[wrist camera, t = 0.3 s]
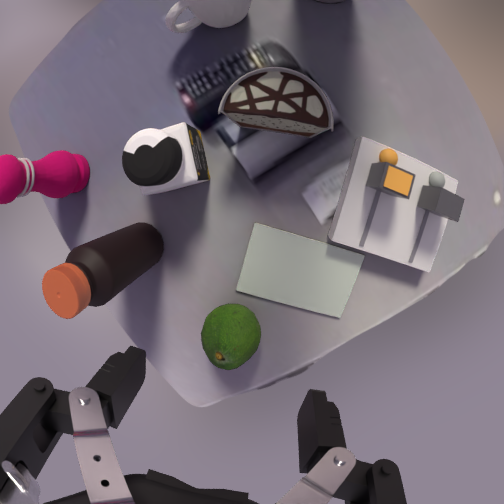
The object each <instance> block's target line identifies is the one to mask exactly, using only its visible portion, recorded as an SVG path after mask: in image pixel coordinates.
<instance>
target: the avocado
mask: <svg viewBox="0 0 504 504" xmlns="http://www.w3.org/2000/svg"><path fill="white" fill-rule="evenodd" d="M260 338H261V328H260V325H259V322H258V320H257V318H256V317H255V315H254V313H253V312H252V311H250V310H249V309H248V308H247V307H245V306H242V305H239V304H225V305H222V306H219V307H217V308H216V309H214V310H213V311H212V312H211V313H210V314H209V315H208V316H207V317H206V319H205V322H204V325H203V329H202V332H201V340H202V345H203V349H204V351H205V353H206V355H207V357H208V358H209V360H210V361H211V363H212V364H214V365H215V366H217V367H218V368H221V369H226V370H231V369H235V368H238V367H239V366H241V365H242V364H244V363H245V362H246V361H247V360H249V359H250V358H251V356H252V355H253V354H254V353H255V352H256V350H257V348H258V345H259V343H260Z"/></svg>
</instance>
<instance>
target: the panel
mask: <svg viewBox="0 0 504 504" xmlns="http://www.w3.org/2000/svg"><path fill="white" fill-rule="evenodd" d="M379 162H388V163H390V164H393V165H395V166H397V167H400V168H402V169H404V170H406V171H409V172H411V173H413V174H415V175H416V176H415V180H414V183H413V187H412V191H411V194H410V198H409V199H404V198H399V197H394V196H391V195H388V194H386V193H383V192H381V191H378V190H376V189H373V188H370V187H368V186H366V182H367V179H368V175H369V171H370V168H371V164H372V163H379ZM457 184H458V181H457V180H456V179H454V178H452V177H450V176H448V175H446V174H445V173H443V172H441V171H439V170H437V169H435V168H433V167H431V166H429V165H427V164H425V163H423V162H421V161H419V160H417V159H415V158H412V157H410V156H408V155H406V154H404V153H402V152H399V151H397V150H395V149H393V148H390V147H388V146H385V145H383V144H381V143H378V142H376V141H373V140H371V139H368V138H366V137H363V136H362V137H359V138H357V139H356V141H355V145H354V149H353V153H352V156H351V160H350V163H349V167H348V171H347V174H346V178H345V181H344V185H343V188H342V191H341V195H340V198H339V201H338V205H337V208H336V211H335V214H334V218H333V221H332V224H331V227H330V230H329V233H328V237H329V238H330V239H331V241H334V242H337V243H340V244H344V245H347V246H350V247H353V248H356V249H360V250H363V251H366V252H369V253H372V254H375V255H378V256H381V257H384V258H387V259H390V260H393V261H397V262H400V263H403V264H405V265H408V266H411V267H414V268H417V269H420V270H423V271H426V272H429V273H430V270H431V268H432V265H433V262H434V260H435V257H436V254H437V251H438V249H439V246H440V243H441V240H442V237H443V234H444V231H445V227H446V224H447V221H448V219H447V218H444V217H440V216H438V215H436V214H433V213H431V212H429V211H427V210H424V209H422V208H420V207H417V205H418V201H419V198H420V194H421V190H422V187H423V185H426V186H435V187H442V188H444V189H446V190H448V191H450V192H452V193H454V194H455V192H456V188H457Z"/></svg>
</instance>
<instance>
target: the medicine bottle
mask: <svg viewBox="0 0 504 504" xmlns="http://www.w3.org/2000/svg"><path fill="white" fill-rule="evenodd" d="M122 164H123V169H124V171H125V174H126V175H127V177H128V178H129V179H130V180H131V181H132V182H133V183H135V184H137V185H140V186H141V191H142V194H143V195H151V194H157V193H163V192H167V191H171V190H174V189H178V188H182V187H186V186H189V185H193V184H197V183H201V182H205V181H208V180H210V175H209V170H208V166H207V161H206V157H205V152H204V148H203V143H202V138H201V134H200V131H198V130H197V129H195V128H193V127H191V126H190V125H188V124H186V123H180V124H176V125H173V126H170V127H167V128H164V129H161V130H158V129H153V128H149V129H144V130H141V131H139V132H137V133H136V134H134V135H133V136H132V137H131V138H130V139H129V141H128V142H127V144H126V146H125V148H124V151H123V156H122Z"/></svg>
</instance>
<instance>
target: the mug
mask: <svg viewBox="0 0 504 504" xmlns="http://www.w3.org/2000/svg"><path fill="white" fill-rule="evenodd" d="M250 4H251V0H181V1H179V2H177V3H176V4H175V5H174V6H173V7H172V8H171V9H170V11H169V12H168V14H167V16H166V26H167V27H168V28H169V30H171V31H172V32H175V33H184V32H188V31H190V30H192V29H194V28H196V27H197V26H199V25H200V24H201V23H204V24H206V25H208V26H211V27H215V28H225V27H229V26H232V25H234V24H236V23H238V22H240V21H241V20H242V19H243V18H244V17H245V16H246V15H247V13H248V10H249V8H250ZM187 8H189V10H190V11H191V12H192V13H193V14H194V15H195V16H196V17H194V18H193V19H191V20H189V21H187V22H185V23H182V24H179V25H175V21H176V19H177V17H178V16H179V15H180V14H181V13H182V12H183V11H184V10H185V9H187Z"/></svg>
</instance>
